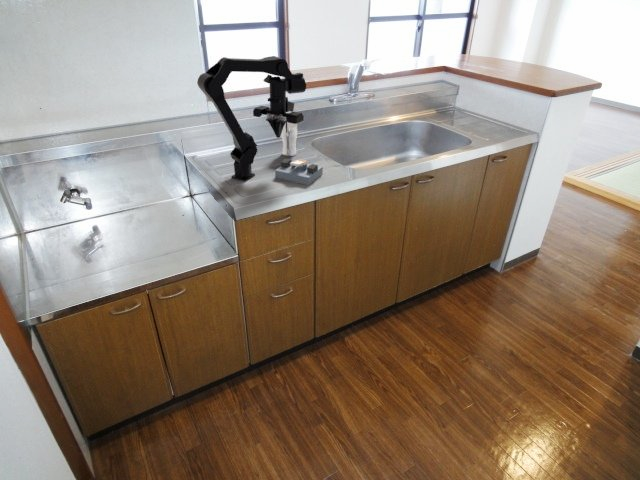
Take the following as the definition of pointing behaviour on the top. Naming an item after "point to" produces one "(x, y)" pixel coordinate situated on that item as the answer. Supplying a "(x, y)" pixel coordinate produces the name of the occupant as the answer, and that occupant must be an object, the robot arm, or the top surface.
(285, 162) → the plug left
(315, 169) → the plug right
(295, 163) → the breaker paddle
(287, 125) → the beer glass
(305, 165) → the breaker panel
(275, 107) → the robot arm
